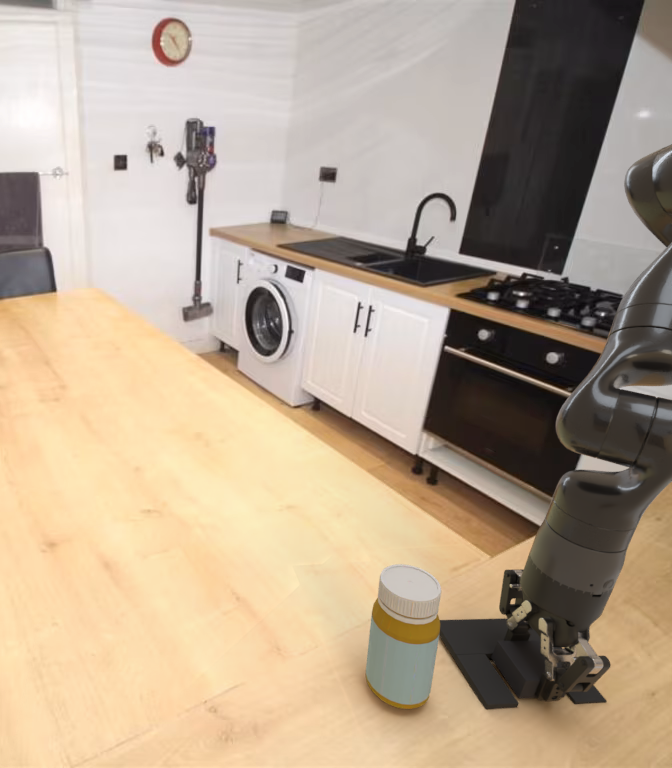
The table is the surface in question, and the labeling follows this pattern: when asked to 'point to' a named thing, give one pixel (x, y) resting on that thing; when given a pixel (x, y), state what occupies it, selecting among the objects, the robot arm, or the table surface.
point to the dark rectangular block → (521, 665)
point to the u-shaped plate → (472, 653)
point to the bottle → (404, 636)
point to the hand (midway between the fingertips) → (527, 674)
